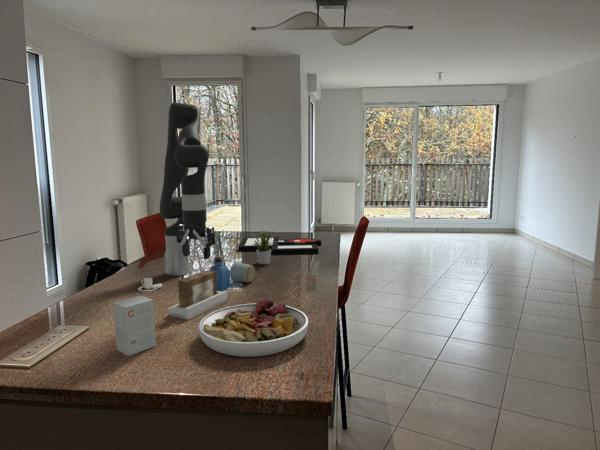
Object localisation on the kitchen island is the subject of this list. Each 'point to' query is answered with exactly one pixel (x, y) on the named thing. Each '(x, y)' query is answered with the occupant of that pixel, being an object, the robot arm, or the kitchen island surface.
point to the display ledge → (198, 306)
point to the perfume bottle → (221, 274)
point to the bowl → (253, 328)
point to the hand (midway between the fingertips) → (196, 257)
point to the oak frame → (197, 288)
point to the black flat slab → (283, 245)
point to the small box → (134, 325)
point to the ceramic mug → (242, 272)
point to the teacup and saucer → (149, 285)
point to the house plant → (264, 248)
